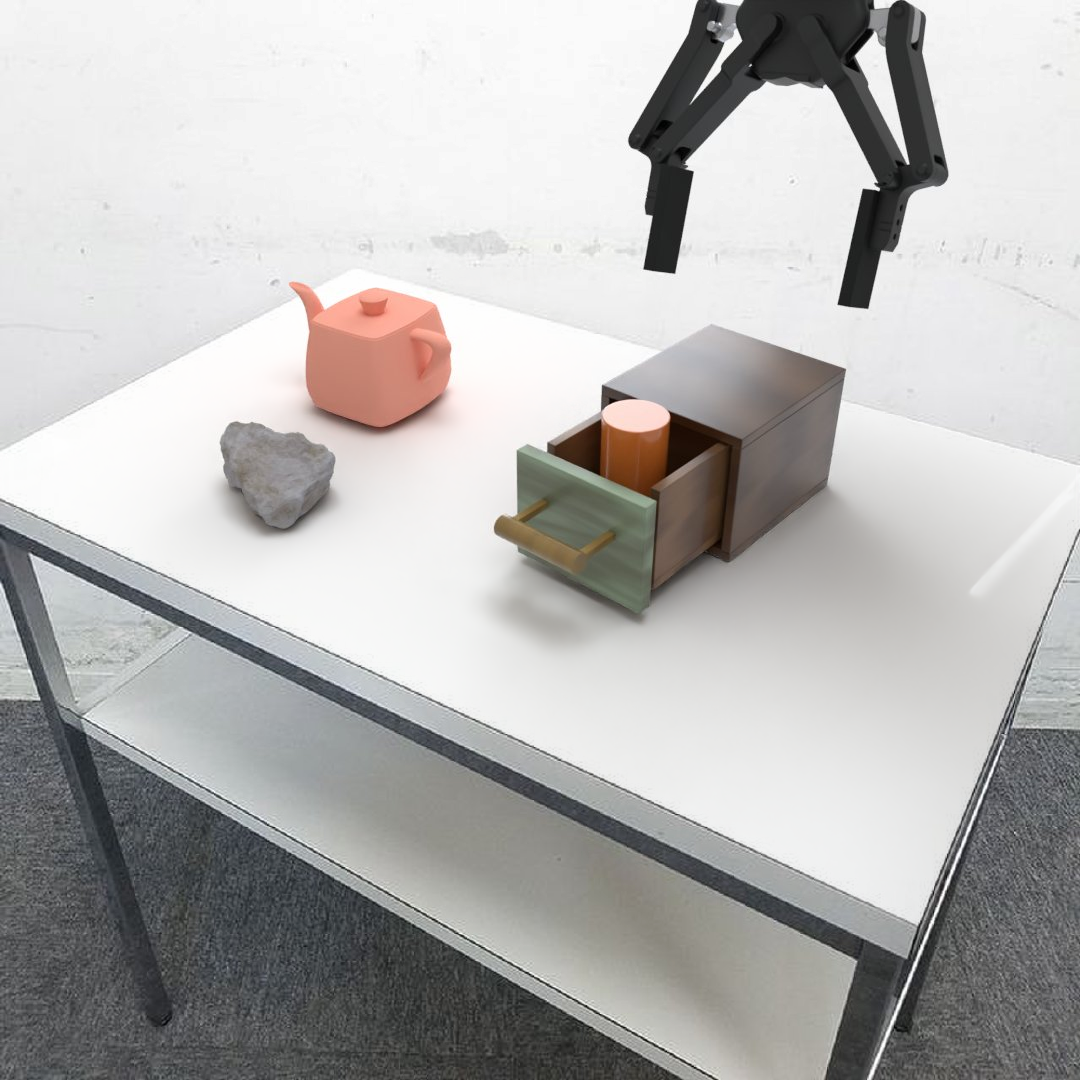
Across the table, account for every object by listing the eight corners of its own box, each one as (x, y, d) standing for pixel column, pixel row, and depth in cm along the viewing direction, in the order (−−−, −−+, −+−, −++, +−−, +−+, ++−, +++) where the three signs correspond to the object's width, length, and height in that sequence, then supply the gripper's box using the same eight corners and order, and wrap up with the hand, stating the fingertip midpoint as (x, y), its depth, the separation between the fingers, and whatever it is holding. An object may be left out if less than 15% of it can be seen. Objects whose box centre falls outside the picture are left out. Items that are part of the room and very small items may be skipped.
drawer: (596, 648, 79) (599, 540, 74) (472, 580, 85) (468, 476, 80) (746, 531, 91) (758, 431, 86) (628, 479, 97) (632, 383, 92)
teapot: (414, 451, 102) (406, 340, 96) (260, 397, 110) (244, 292, 104) (490, 398, 110) (487, 293, 104) (341, 352, 118) (331, 252, 112)
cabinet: (728, 562, 89) (742, 439, 83) (597, 502, 96) (601, 384, 90) (827, 484, 98) (846, 368, 92) (701, 434, 105) (711, 323, 99)
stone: (192, 505, 95) (179, 442, 92) (263, 462, 101) (253, 401, 97) (283, 544, 91) (274, 479, 88) (352, 496, 96) (345, 433, 93)
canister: (674, 531, 89) (684, 413, 83) (635, 560, 86) (642, 439, 80) (624, 508, 91) (629, 392, 86) (584, 535, 88) (587, 416, 83)
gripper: (611, -103, 72) (556, 254, 77) (1026, -118, 57) (922, 322, 63) (677, -67, 78) (621, 263, 83) (1069, -73, 63) (970, 326, 69)
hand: (750, 289), depth 73 cm, fingers open, 13 cm apart
